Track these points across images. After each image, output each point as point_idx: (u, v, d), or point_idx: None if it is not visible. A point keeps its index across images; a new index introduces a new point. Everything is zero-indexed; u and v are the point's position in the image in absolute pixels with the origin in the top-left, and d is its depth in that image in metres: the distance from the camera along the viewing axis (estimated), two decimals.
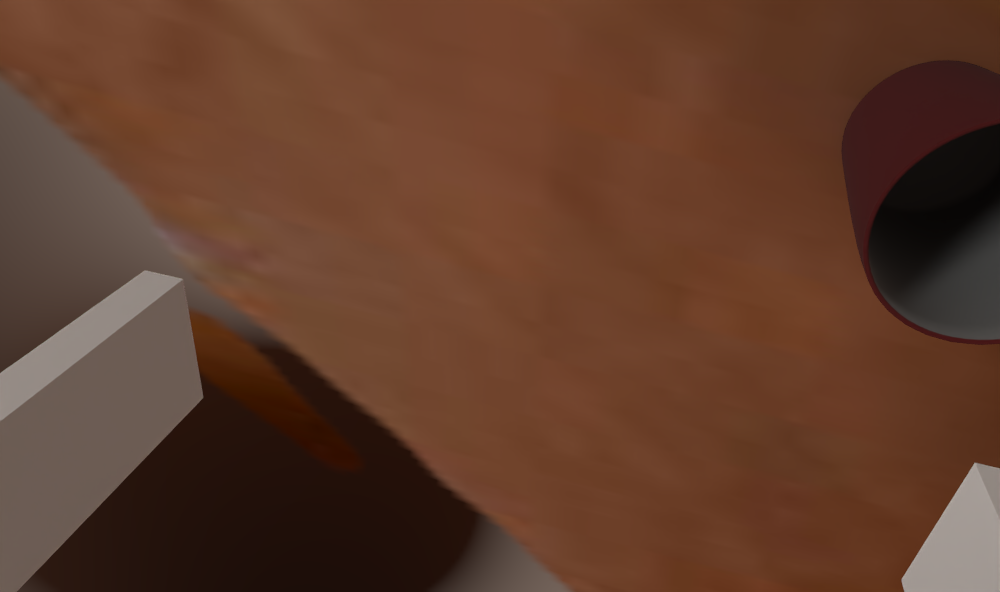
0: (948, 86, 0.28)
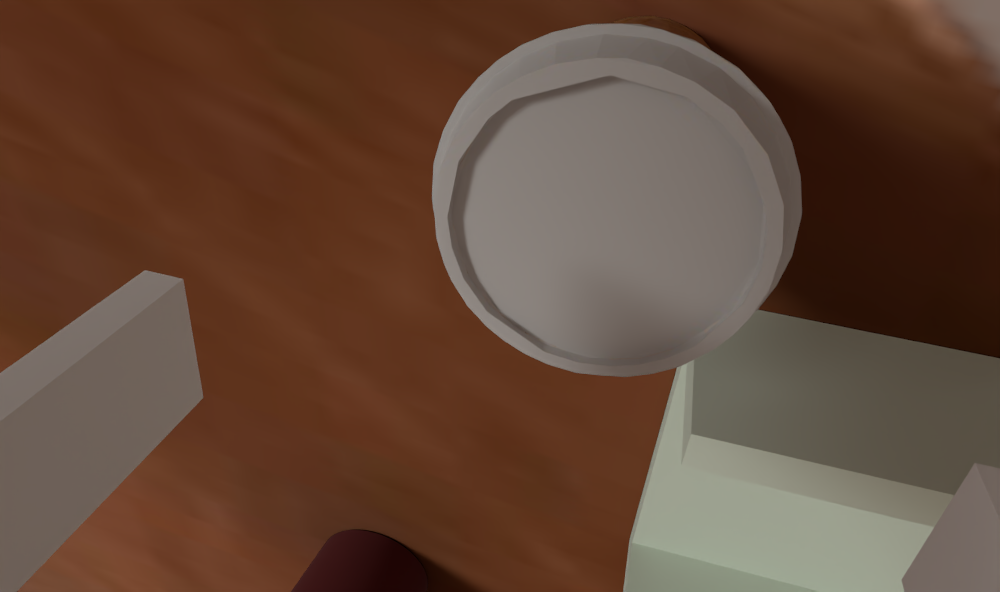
0: None
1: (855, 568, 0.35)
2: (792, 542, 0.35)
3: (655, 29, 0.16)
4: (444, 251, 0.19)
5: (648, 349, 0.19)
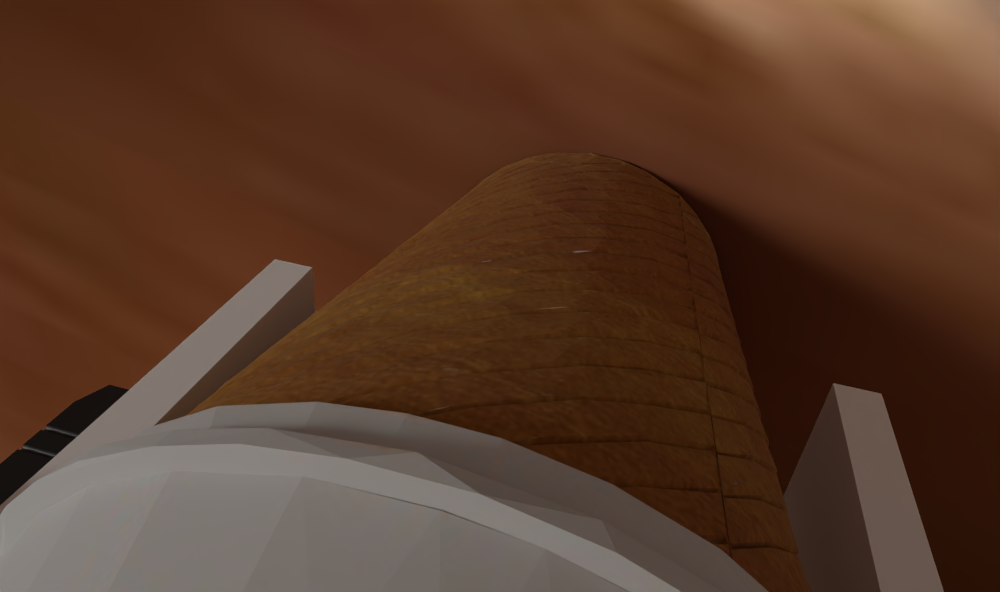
0: None
1: None
2: None
3: (461, 494, 0.05)
4: None
5: None
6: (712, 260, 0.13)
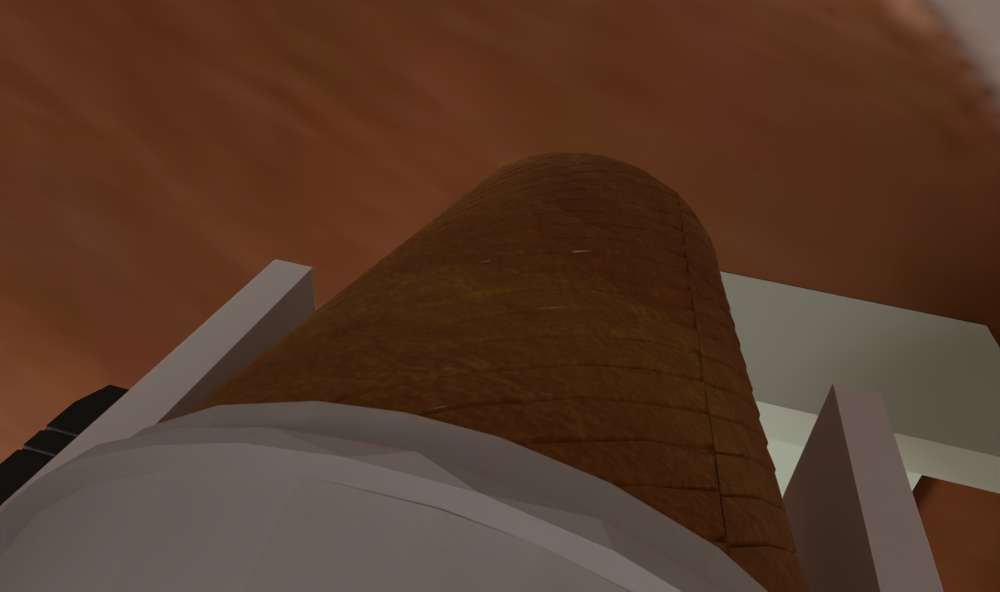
0: None
1: None
2: None
3: (460, 494, 0.05)
4: None
5: None
6: (711, 260, 0.13)
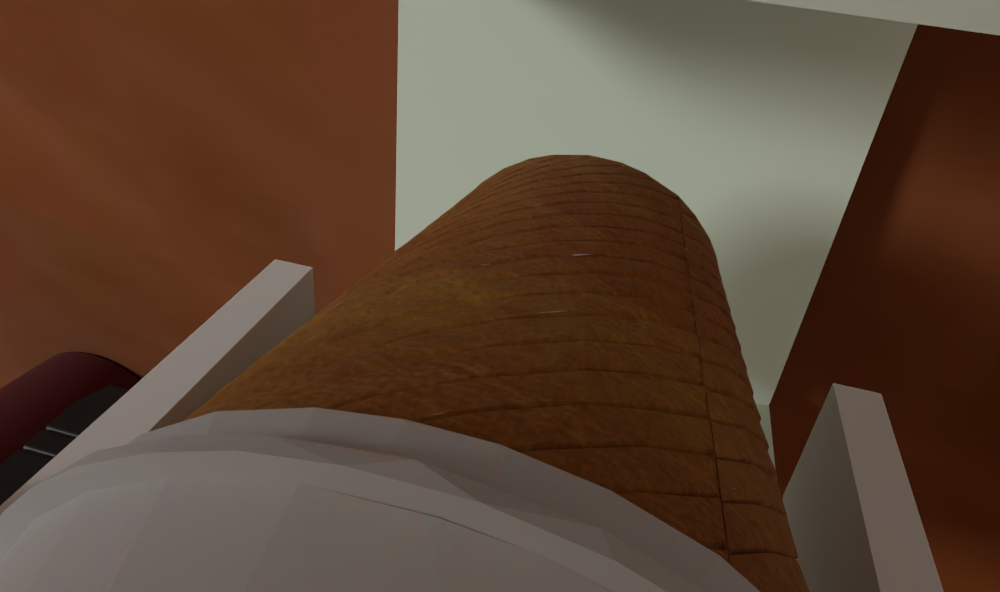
0: None
1: None
2: None
3: (459, 503, 0.05)
4: None
5: None
6: (712, 262, 0.13)
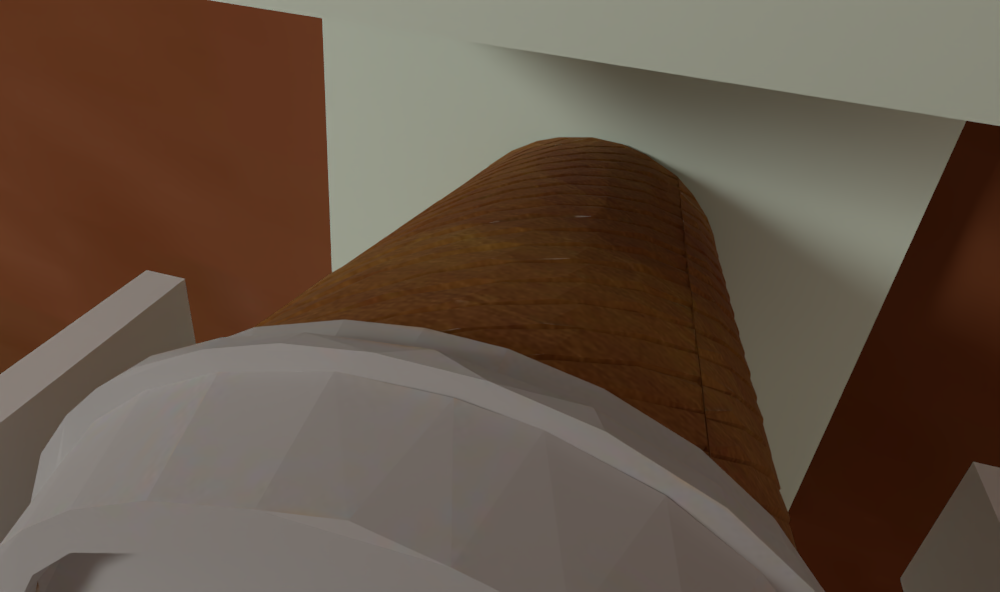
0: None
1: None
2: None
3: (472, 381, 0.05)
4: None
5: None
6: (708, 237, 0.14)
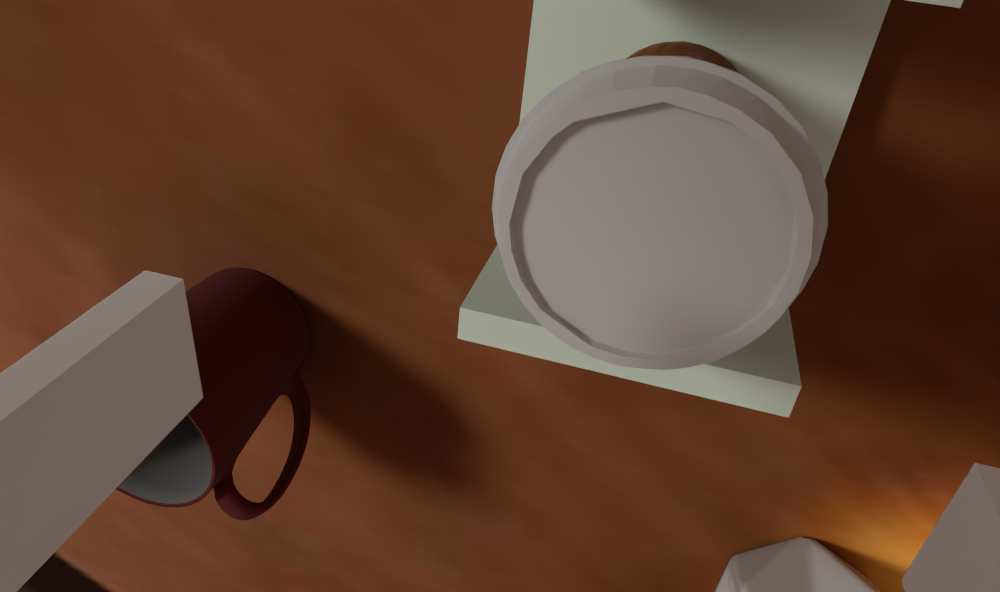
0: None
1: None
2: None
3: (702, 61, 0.18)
4: (504, 254, 0.21)
5: (686, 345, 0.21)
6: None
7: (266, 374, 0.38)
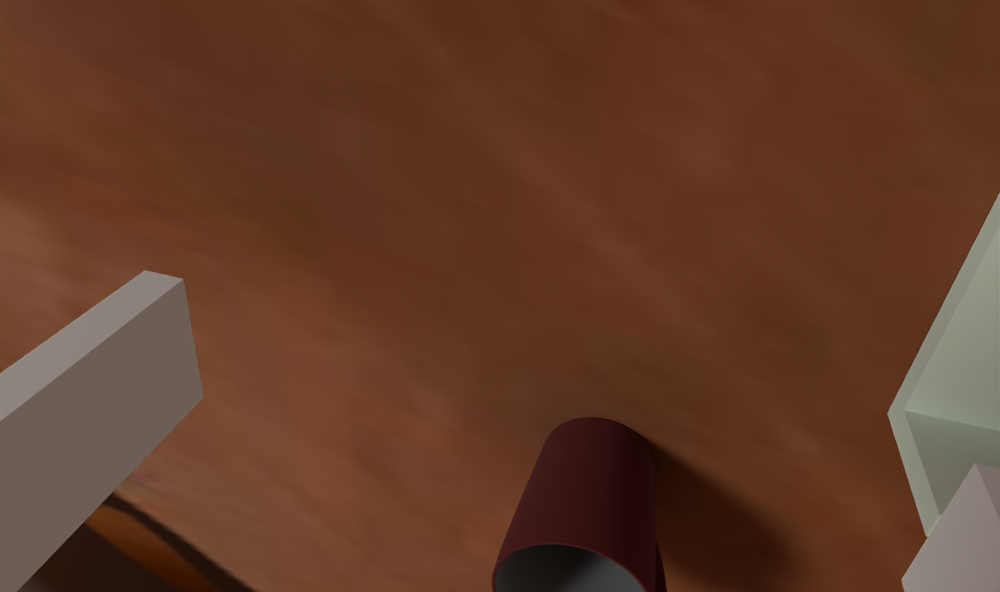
0: (562, 473, 0.41)
1: None
2: None
3: None
4: None
5: None
6: None
7: None
